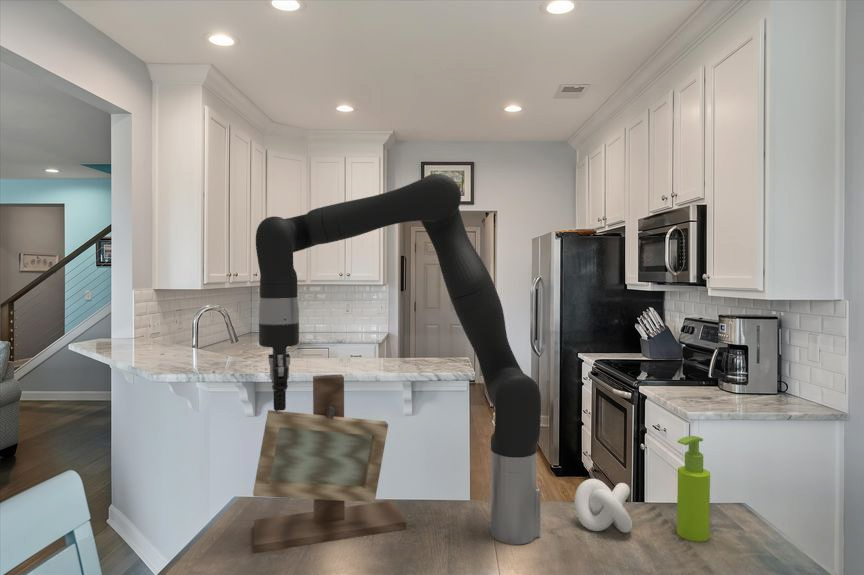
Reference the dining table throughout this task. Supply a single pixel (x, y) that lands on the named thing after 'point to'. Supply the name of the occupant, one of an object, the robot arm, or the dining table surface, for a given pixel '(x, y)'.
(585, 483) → the white decorative knot
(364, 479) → the frame
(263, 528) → the stand
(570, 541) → the dining table surface
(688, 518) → the soap dispenser
